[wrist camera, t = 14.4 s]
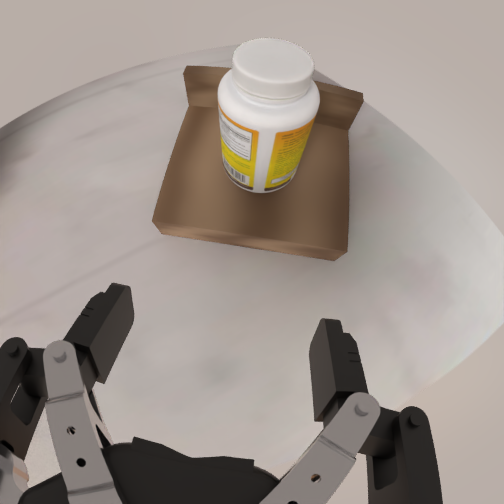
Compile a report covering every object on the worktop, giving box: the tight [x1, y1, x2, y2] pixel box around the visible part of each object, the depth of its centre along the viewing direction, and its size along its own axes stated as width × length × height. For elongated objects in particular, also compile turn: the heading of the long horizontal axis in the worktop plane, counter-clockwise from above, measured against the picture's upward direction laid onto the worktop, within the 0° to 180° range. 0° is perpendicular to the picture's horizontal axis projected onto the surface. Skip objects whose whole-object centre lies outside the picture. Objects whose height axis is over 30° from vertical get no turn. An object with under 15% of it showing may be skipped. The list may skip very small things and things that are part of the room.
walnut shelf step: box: [152, 66, 364, 261], centre depth 21 cm, size 14×12×7 cm
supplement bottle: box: [218, 38, 320, 193], centre depth 16 cm, size 6×6×10 cm
